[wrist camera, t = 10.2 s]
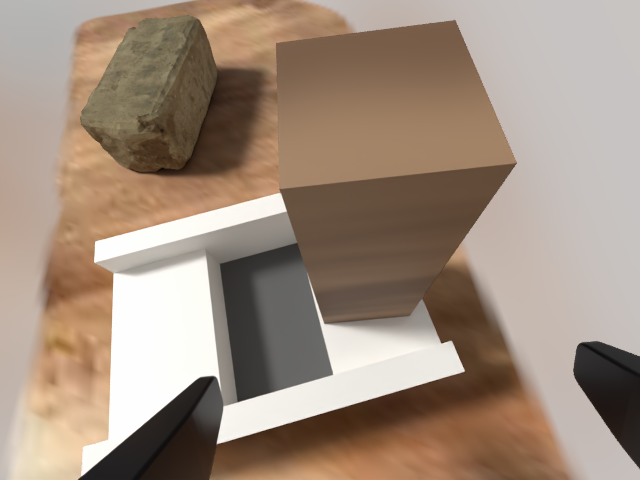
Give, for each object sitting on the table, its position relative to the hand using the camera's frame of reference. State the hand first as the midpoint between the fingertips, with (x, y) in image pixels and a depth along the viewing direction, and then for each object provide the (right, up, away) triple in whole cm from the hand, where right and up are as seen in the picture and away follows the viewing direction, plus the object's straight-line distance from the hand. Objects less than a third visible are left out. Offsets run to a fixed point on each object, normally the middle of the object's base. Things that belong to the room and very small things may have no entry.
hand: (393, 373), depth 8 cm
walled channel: (-4, -1, +10) cm, 11 cm away
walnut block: (0, +1, +8) cm, 8 cm away
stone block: (-13, +13, +18) cm, 26 cm away
